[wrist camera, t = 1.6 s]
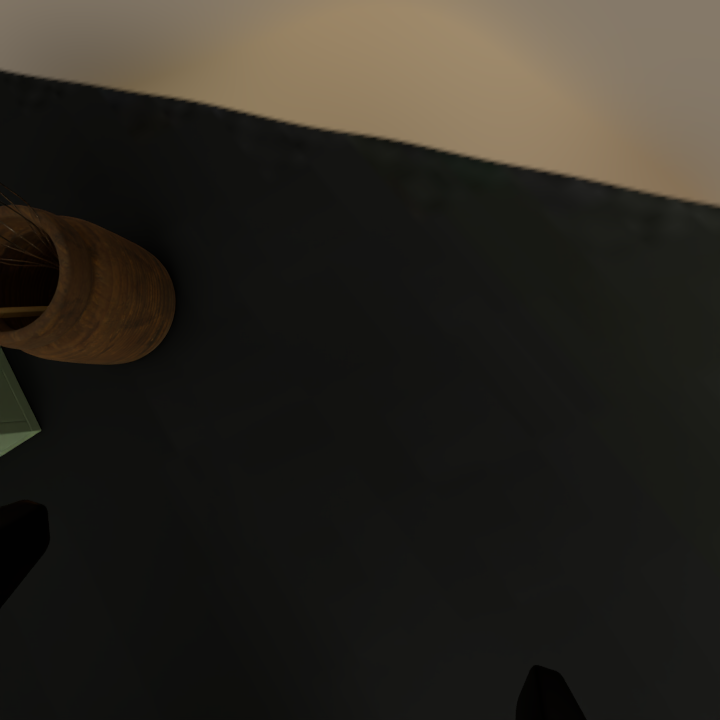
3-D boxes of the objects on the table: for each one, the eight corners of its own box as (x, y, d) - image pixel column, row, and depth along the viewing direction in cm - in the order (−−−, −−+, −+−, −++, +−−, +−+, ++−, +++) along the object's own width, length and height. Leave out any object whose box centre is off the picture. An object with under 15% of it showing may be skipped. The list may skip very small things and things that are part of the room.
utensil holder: (206, 297, 24) (-12, 210, 13) (121, 396, 25) (-168, 401, 13) (123, 220, 25) (-153, 71, 13) (43, 316, 26) (-296, 253, 14)
